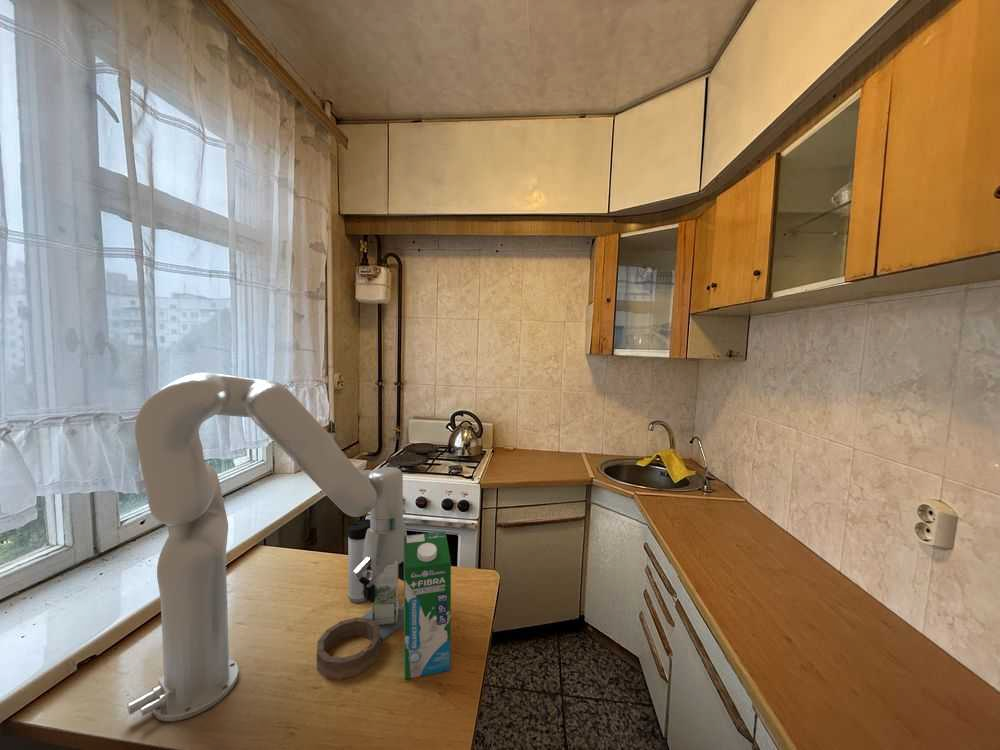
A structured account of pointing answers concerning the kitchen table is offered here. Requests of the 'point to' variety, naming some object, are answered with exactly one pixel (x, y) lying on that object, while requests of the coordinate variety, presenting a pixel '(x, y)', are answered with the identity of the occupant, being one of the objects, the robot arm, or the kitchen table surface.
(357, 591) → the travel mug
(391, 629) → the mat
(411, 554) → the milk carton
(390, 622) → the syrup box
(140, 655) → the kitchen table surface
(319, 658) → the collar
